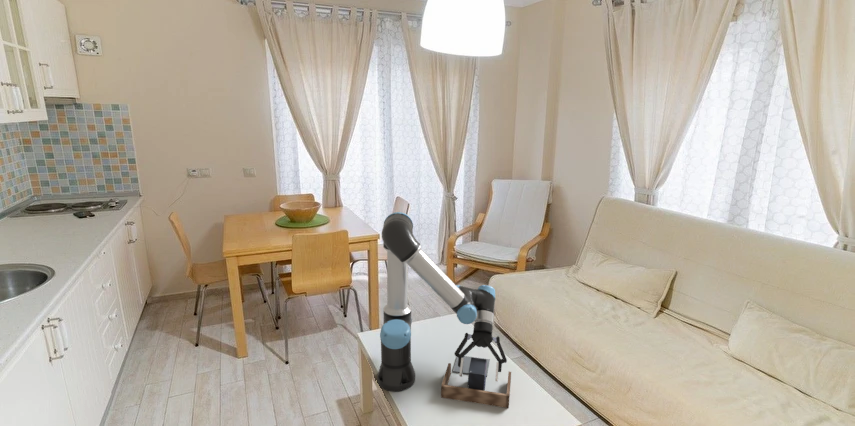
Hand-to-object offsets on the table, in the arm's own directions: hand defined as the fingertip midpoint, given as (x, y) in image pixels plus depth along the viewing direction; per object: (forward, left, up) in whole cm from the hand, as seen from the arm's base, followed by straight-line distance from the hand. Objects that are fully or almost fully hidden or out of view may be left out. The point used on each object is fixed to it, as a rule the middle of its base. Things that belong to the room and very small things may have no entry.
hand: (478, 378), depth 164 cm
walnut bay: (-1, +2, -6) cm, 6 cm away
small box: (-1, +1, -6) cm, 6 cm away
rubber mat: (-5, +16, -6) cm, 17 cm away
